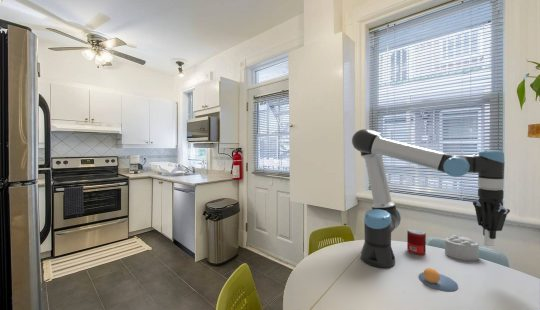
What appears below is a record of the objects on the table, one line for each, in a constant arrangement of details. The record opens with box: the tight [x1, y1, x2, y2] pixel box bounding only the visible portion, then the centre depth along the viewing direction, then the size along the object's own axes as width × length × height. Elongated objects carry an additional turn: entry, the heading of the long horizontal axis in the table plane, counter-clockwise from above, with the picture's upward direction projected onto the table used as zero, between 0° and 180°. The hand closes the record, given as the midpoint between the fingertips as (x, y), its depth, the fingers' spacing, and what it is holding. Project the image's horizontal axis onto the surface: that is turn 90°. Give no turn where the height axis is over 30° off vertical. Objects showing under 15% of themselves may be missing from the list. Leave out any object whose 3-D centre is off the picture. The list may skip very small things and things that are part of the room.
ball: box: [423, 267, 440, 283], centre depth 93 cm, size 6×6×6 cm
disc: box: [418, 271, 459, 292], centre depth 94 cm, size 13×13×1 cm
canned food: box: [406, 227, 427, 256], centre depth 119 cm, size 8×8×11 cm
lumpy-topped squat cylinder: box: [444, 234, 480, 261], centre depth 115 cm, size 10×13×9 cm
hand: (489, 245), depth 94 cm, fingers closed
